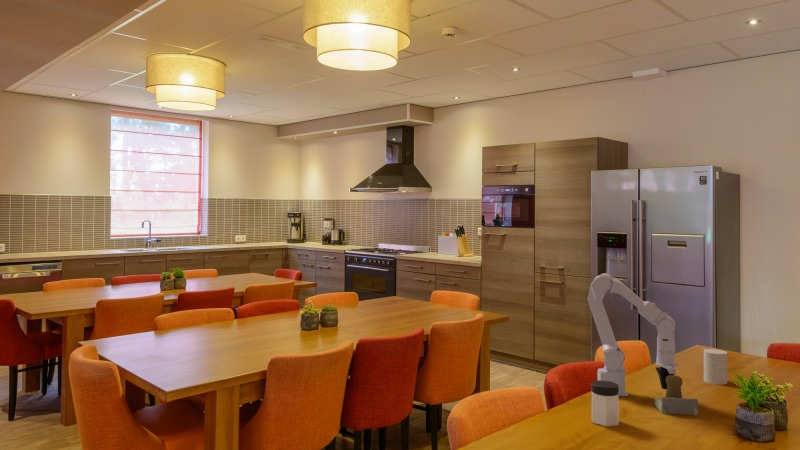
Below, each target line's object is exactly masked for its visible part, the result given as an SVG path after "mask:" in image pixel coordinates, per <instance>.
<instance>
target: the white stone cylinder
mask: <svg viewBox="0 0 800 450" xmlns="http://www.w3.org/2000/svg"><path fill="white" fill-rule="evenodd" d="M703 381H704V382H705V383H707V384H711V385H718V386H720V385H723V386H724V385H727V384H728V351H725V350H722V349H715V348H705V349H703Z"/></svg>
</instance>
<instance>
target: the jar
mask: <svg viewBox="0 0 800 450" xmlns="http://www.w3.org/2000/svg"><path fill="white" fill-rule="evenodd" d="M590 385H591V387H590V389H591V391H590V393H591V395H590V396H591V397H590V398H591V402H590V404H591V405H590V406H591V407H590V408H591V415H590V416H591V422H592V423H593V424H596V425H598V424H599V426H602V427H605V426H606V427H614V426H619V424H620V423H619V422H620V420H619V414H620V408H619V403H620V402H619V401H620V398H619V397H620V396H619V395H618V393H619V386H618V384H616V383H614V382H610V381H597V380H593V381H592V382H591V383H590Z"/></svg>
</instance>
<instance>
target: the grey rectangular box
mask: <svg viewBox="0 0 800 450" xmlns="http://www.w3.org/2000/svg"><path fill="white" fill-rule="evenodd" d="M698 405H699V400H698V398H686V397H682V398H668V397H666V396H665V397H663V396H661V399H660V398H659V397H654V406H655V407H656V408H657V409H658V410H659V411H660V412H661V413H662V414H666V415H685V416H686V415H688V416H689V415H690V416H698V415H699V414H698V413H699V412H698V411H699V410H698V409H699V406H698Z"/></svg>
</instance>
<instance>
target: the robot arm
mask: <svg viewBox="0 0 800 450" xmlns="http://www.w3.org/2000/svg"><path fill="white" fill-rule="evenodd" d="M608 291H609V293H610V294H618V295H620V296H621V297H623V298H624V299H625V300H626V301H628V302H629V303H631V304H632V305H633V306H635V307H636V308H637V311H638V314H639V315H640V316H641V317H643V318H644V319H645V320H646V321H648V322H649V323H650V324H651V325H653V326H655V328H656V330H657V337H656V358H655V359H656V361H655V364H656V367H655V370H656V372H657V375H658V378H659V382H660V386H661V389H663V390H667V384H666V377H667V376H669V375H676V373H677V372H676V367H678V366H679V364H678V362H675V357H676V350H675V349H676V344H675V343H676V338H675V330H676V321H675V320H674V318H672V316H671V315H668V313H667V312H666V311H665V312H664V311H662V310H661V309H659V308H658V307H657V306H656V305H657V303H656V302H651V301H649V300H645V301H644V300H643V299H642V298H640V297H639V296H638V295H637V294H636V293H634V292H633V291H632V290H631V289H630V288H629V287H628V286H627V285H625V284H624V283H623V282H621V280H619V279H618V278H616V277H614V276H613V275H612V274H610V273H609V272H608V273H607V272H604V273H601V274H599V275H597V276H595V277H594V279H593V280H592V282H591V283H590V287H589V291H588V293H587V294H588V295H587V298H586V299H587V303H588V306H589V308H590V312H591V314H592V317H593V319H594V320H593V321H594V324H595V326H596V330H597V332H598V336H599V339H600V341H601V345H602V352H603V356H604V357H603V364H604V366H603V367H602V368H597V373H596V375H597V377H596V379H597V380H596V381H610V382H614V383H616V384H618V386H619V393H618V395H619V397H629V394H628V393H627V392H626V368H625V367H624V365H623V364H624V363H625V360H626V355H625V353H624V351H622V349H621V348H620V345H619V343H618V342H617V341H616V338H615V335H614V331H613V328H612V326H611V323H610V320H609V317H608V314H607V312H606V308H605V306H604V301H603V300H604V297H605V296H606V294H607V292H608ZM657 366H658V367H657Z"/></svg>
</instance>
